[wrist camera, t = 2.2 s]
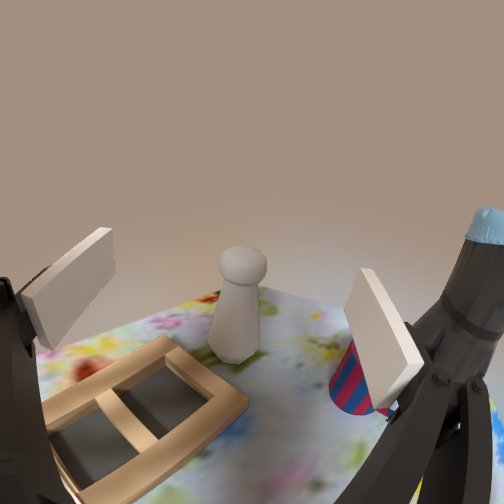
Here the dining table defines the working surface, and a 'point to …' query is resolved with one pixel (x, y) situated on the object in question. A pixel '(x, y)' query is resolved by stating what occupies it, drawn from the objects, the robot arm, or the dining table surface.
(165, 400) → the wooden slotted tray
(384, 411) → the mug
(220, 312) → the salt shaker
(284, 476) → the dining table surface
